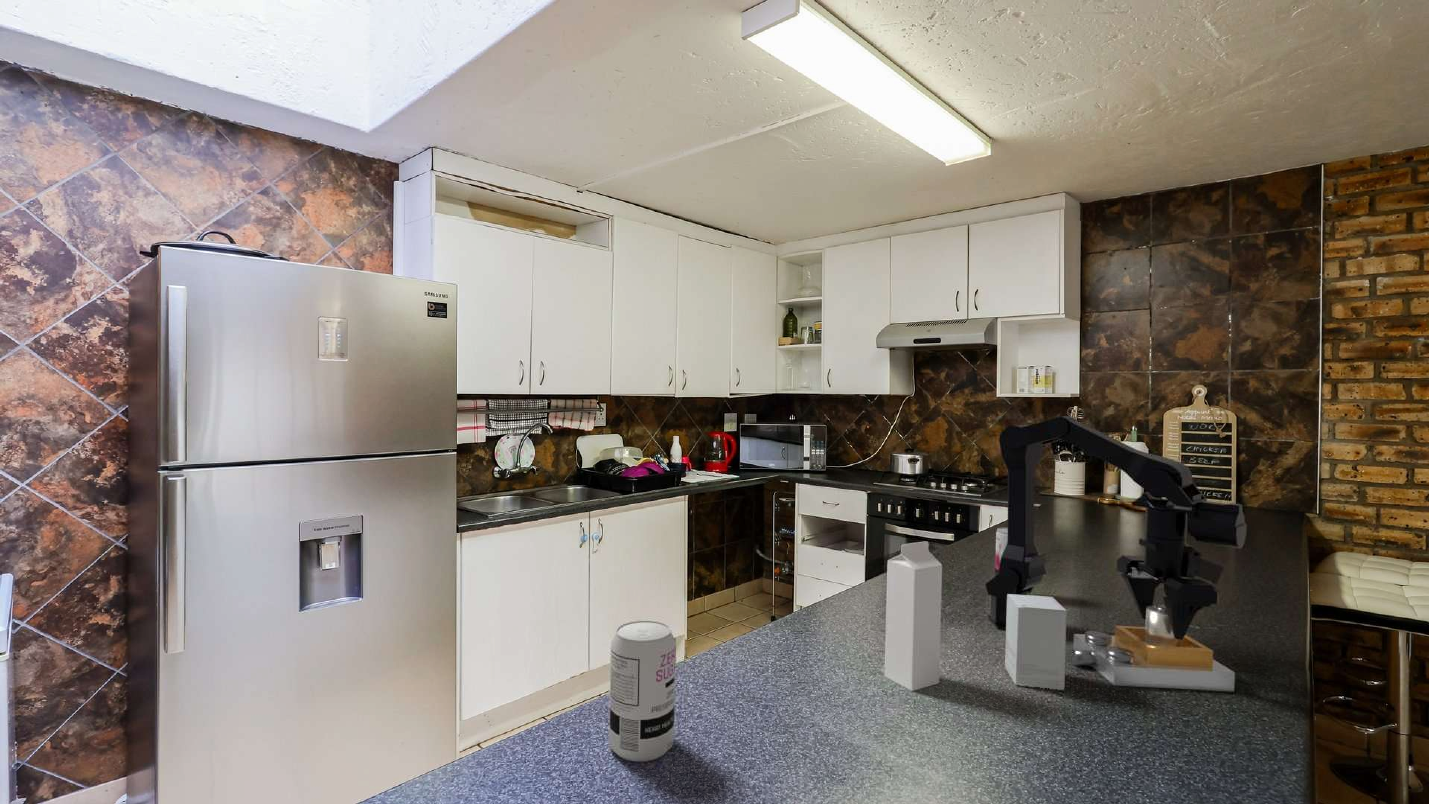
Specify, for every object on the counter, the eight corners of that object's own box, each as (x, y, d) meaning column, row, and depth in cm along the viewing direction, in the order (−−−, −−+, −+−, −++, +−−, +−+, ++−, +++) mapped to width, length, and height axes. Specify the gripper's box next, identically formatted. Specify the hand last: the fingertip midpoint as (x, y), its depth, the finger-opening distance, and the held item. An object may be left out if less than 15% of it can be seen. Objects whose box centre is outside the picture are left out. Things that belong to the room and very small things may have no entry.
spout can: (1154, 657, 109) (1157, 612, 109) (1137, 644, 114) (1140, 601, 114) (1200, 660, 108) (1203, 614, 108) (1180, 647, 113) (1183, 603, 113)
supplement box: (1065, 691, 103) (1068, 610, 102) (1014, 686, 104) (1016, 606, 104) (1051, 671, 110) (1053, 596, 110) (1003, 667, 111) (1006, 592, 111)
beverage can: (991, 597, 149) (993, 530, 149) (997, 590, 155) (999, 526, 154) (1023, 603, 145) (1025, 535, 145) (1028, 595, 151) (1030, 530, 151)
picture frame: (1094, 684, 105) (1095, 650, 105) (1056, 649, 119) (1057, 619, 119) (1234, 691, 104) (1235, 656, 104) (1178, 655, 118) (1179, 624, 118)
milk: (939, 684, 105) (944, 545, 104) (911, 692, 102) (916, 549, 101) (910, 669, 110) (915, 537, 109) (883, 676, 107) (887, 540, 106)
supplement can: (611, 730, 88) (613, 619, 88) (673, 729, 89) (675, 618, 89) (606, 765, 80) (608, 642, 80) (674, 763, 81) (676, 641, 81)
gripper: (1257, 552, 101) (1253, 653, 101) (1181, 526, 119) (1177, 612, 120) (1180, 549, 102) (1176, 649, 102) (1116, 524, 120) (1113, 609, 121)
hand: (1161, 628), depth 111 cm, fingers open, 9 cm apart
